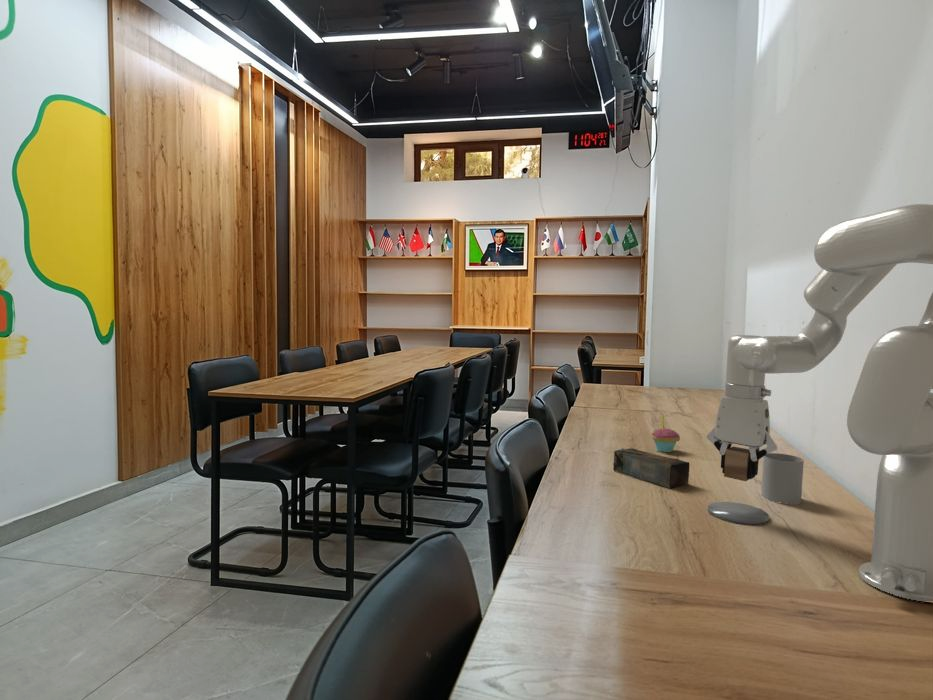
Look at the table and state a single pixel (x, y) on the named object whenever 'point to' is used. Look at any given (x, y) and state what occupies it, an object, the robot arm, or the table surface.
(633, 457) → the dark grey rectangular box
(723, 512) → the coaster
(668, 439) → the cupcake
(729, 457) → the block
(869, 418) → the robot arm
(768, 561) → the table surface
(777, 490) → the cup
